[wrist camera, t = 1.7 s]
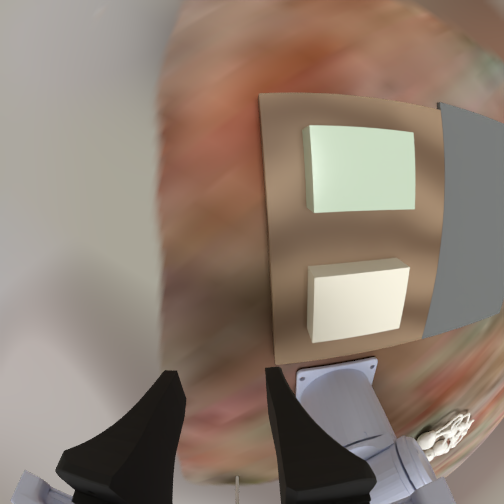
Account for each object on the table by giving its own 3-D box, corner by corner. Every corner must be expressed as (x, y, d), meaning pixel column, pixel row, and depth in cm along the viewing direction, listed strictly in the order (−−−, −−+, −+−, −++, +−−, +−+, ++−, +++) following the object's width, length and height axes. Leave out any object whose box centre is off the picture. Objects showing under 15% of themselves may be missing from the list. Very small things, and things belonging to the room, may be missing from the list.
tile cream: (388, 315, 20) (399, 328, 18) (306, 327, 20) (312, 343, 18) (396, 257, 18) (409, 267, 16) (307, 266, 18) (314, 277, 16)
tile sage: (399, 204, 17) (414, 209, 15) (306, 207, 17) (314, 213, 15) (398, 134, 16) (413, 132, 14) (302, 129, 16) (309, 125, 14)
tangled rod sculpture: (482, 403, 32) (492, 414, 28) (439, 452, 35) (447, 463, 31) (436, 406, 29) (450, 422, 25) (383, 463, 32) (391, 479, 28)
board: (414, 330, 22) (421, 338, 21) (273, 353, 22) (275, 365, 21) (429, 112, 16) (440, 110, 15) (257, 99, 16) (258, 93, 15)
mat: (497, 311, 23) (499, 312, 22) (419, 336, 23) (421, 338, 22) (517, 130, 16) (519, 130, 16) (437, 102, 16) (439, 102, 16)
